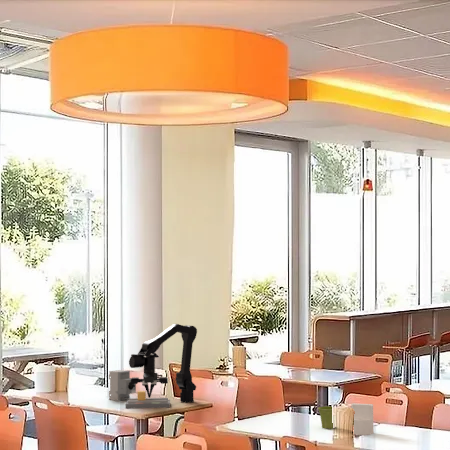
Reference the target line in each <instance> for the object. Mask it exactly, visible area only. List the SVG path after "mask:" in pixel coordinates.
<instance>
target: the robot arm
mask: <svg viewBox="0 0 450 450" xmlns="http://www.w3.org/2000/svg"><path fill="white" fill-rule="evenodd" d="M177 333H180V334H181V338H182V341H183V343H182V354H181V362H180V370H179V372H176V373H175V379H174V380H175V383H176V385H177V386H178V389H179V390H180V391H181V392H180V396H179V399H180V400H179V401H180V402H181V403H194V401H195V400H194V391H196V390H197V385H196V384H195V383H194V382H193V376H192V373H191V362H192V353H193V345H194V344H193V343H194V342H195V340H196V338H197V334H198V329H197V327H196V326H195V325H187V324H185V325H181V324H179V323H173V324H171V325H170V326H169V327H167V328H166V329H164V331H162V332H161V333H159V335H157V336H155V337H154V338H152V339H148V340H145V342H143V343H142V344H141V348H140V349H139V351H138V353H137V354H134V353H133V354H131V355H130V357H129V360H128V365H129V367H130V368H131V369H137V368H139V369H140V368H143V375H142V376H143V378H140V377H139V376H136V377H135V376H134V377H133V376H132V377H130V378H131V384H136V385H137V384H138V383H141V384H142V386H143V387H144V389H145V391H146V395H147V398H152V396H151V395H152V393H153V390H154V388H155V386H157V384H158V383H160V384H162V385H163V384H165V385H167V384H169V378H168V377H167V376H160V377H159V378H158V372H156V358H157V359H158V358H159V355H158V354H157V353H156V352H157V351H158V350H159V349H160V347H161V346H162V344H164V343H165V342H166V341H167V340H169V339H170V338H172V337H173V336H174V335H175V334H177ZM149 383H150V387H149Z"/></svg>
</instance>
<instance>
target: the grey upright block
mask: <svg viewBox="0 0 450 450" xmlns="http://www.w3.org/2000/svg"><path fill="white" fill-rule="evenodd" d="M351 408H353V409H354V411H355V414H354V434H353V435H357V436H371V435H373V434H374V432H375V431H374V404H372V403H371V404H370V403H351Z"/></svg>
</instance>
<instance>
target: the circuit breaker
mask: <svg viewBox="0 0 450 450" xmlns="http://www.w3.org/2000/svg"><path fill="white" fill-rule="evenodd" d="M130 375H131V372H130V370H126V369H125V370H122V369H117V370H109V374H108V380H109V390H108V397H109V398H108V400H110V399H111V400H110V401H118V400H121V401H126V400H125V399H127V400H129V399H130V398H131V395H130V394H135V393H137V384H131V378H132V377H131V376H130Z"/></svg>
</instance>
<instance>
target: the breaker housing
mask: <svg viewBox="0 0 450 450" xmlns="http://www.w3.org/2000/svg"><path fill="white" fill-rule="evenodd" d="M170 407H171V399H169V397H150V398H149V397H146V400H138V397H135V398H134V397H133V398H131V397H130V399H127V400H126V402H125V409H155V408H156V409H157V408H158V409H161V408H163V409H164V408H170Z"/></svg>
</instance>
